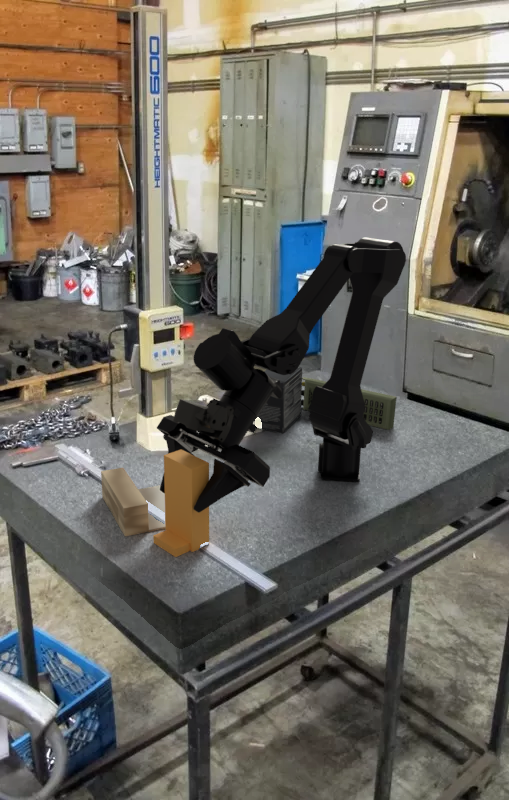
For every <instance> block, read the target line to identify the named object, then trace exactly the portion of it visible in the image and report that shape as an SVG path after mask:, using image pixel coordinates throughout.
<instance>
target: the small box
mask: <svg viewBox="0 0 509 800" xmlns="http://www.w3.org/2000/svg"><path fill="white" fill-rule="evenodd" d="M263 371H264V372H265V373H266V374H267V375H268V376H269V377H272V378H275V379H278V380H280V388H281V391H282V398H281V399H278V398H275V397H272V396H270V397H269V399H268V400H267V402H266V403H265V405H264V407H263V408H262V410H261V411H260V413H259V414H258V416H257V417H259V418H260V419H261V422H262V431H268V432H272V433H273V432H274V433H279V434H284V433H285V432H287V430H288V429H289V428H291V426H292V425H293V424H294V423H295V422H296V421H297V420H298V419H299V418H300V417H301V416H302V405H301V400H302V397H303V396H302V390H303V386H302V382H303V379H302V378H303V366H301V365H299V367H298V368H297V369H296V371H295V372H294V373H292V374H288V375H281V374H278V373H275V372H272V371H269V370H266V369H264V370H263Z"/></svg>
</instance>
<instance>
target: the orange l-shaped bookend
mask: <svg viewBox="0 0 509 800" xmlns="http://www.w3.org/2000/svg"><path fill="white" fill-rule="evenodd" d="M192 454H193V453H192ZM192 454H190V453H188V452H186V451H184V450H182V449H181V450H178V451H175V452H172V453H169V454H168V453H166V454H163V474H164V483H165V526H166V528H165V529H164V530H163V531H160V532H157V533H156V534H153V544H155V545H156V546H157V547H159V548H161V549H162V550H164V551H165V552H167V553H168V554H170V555H172V556H173V557H174V558H177V557H180V556H181V555H183V554H186V553H188V552H192V553H194V552H196V551H198V550H200V549H199V548H200V545H201V544H203V543H205V542H209V543H210V506H209V507H207V508H206V509H204V510H203V511H201V512H199V513H198V512H196V511H195V510H194V506H195V504H196V502H197V500H198V498H199V496H200V494H201V493H202V491H203V489H204V488H205V486H206V484H207V483H208V481H209V479H210V462H208V461H206V460H204V459H202V458H200V457H198V456H196V455H194V454H193V455H192Z"/></svg>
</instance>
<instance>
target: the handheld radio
mask: <svg viewBox="0 0 509 800" xmlns="http://www.w3.org/2000/svg"><path fill="white" fill-rule="evenodd" d="M326 382H327V381H326V380H325V381H324V380H320V379H316V378H312V377H311V378H310V377H304V376H303V377H302V387H304V389H302V395H301V396H302V397H303V399H302V398H301V407H302V410H303V411H308V412H310V410H308V408H309V406H310V404H311V401H312V397H313V390H314V389H315V387H316V386H319V387H322V386H323V385H324V384H325V383H326ZM361 391H362V395H363V399H364V402H365V408H364V414H363V419H364V420H365V421H366V422H367V424H368V425H369V426H370V427H374V428H379V429H383V430H387V431H390V430H392V429H393V428H394V425H395V414H396V406H397V396H395V395H391V394H386V393H381V392H377V391H371V390H368V389H363V388H361Z"/></svg>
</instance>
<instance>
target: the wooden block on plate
mask: <svg viewBox="0 0 509 800" xmlns="http://www.w3.org/2000/svg"><path fill="white" fill-rule="evenodd" d="M100 476H101V477H100V478H101V480H100V481H101V495H102V496H101V497H102V499H103V501H104V502H105V505H106V506H107V507H108V508H107V509H109V511H110V513H111V515H112V516H113V518H114V520H115V522H116V524H117V526H118V527H119V529H120V531H121V532H122V534H123V536H124V537H129V536H135V535H139V534H144V533H149V532H154V531H160V530H166V526H165V524H163V523H162V522H160V521H158V520H156V519H155V518H154V517H153V516H152V515H150V514H149V513H148V503H147V502H146V500H147V501H148V502H150V503H151V504H153V505H154V506H156V507H157V508H159V509H160V510H162V511H163V512H165V493H163V492H161V491H160V486H161V484H159V485H154V486H149V487H143V488H142V487H141V488H138V487H137V485H136V484H135V482H134V481H133V480H132V478H131V476H130V475H129V473H127V471H126V469H125V467H117V468H112V469H106V470H101V471H100Z"/></svg>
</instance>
